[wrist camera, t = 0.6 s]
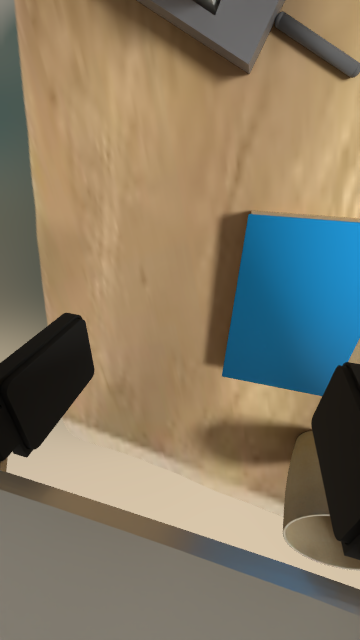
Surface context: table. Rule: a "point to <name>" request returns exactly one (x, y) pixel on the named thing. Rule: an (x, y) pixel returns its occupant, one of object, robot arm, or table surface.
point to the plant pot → (310, 509)
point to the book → (295, 301)
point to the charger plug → (209, 5)
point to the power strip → (246, 30)
